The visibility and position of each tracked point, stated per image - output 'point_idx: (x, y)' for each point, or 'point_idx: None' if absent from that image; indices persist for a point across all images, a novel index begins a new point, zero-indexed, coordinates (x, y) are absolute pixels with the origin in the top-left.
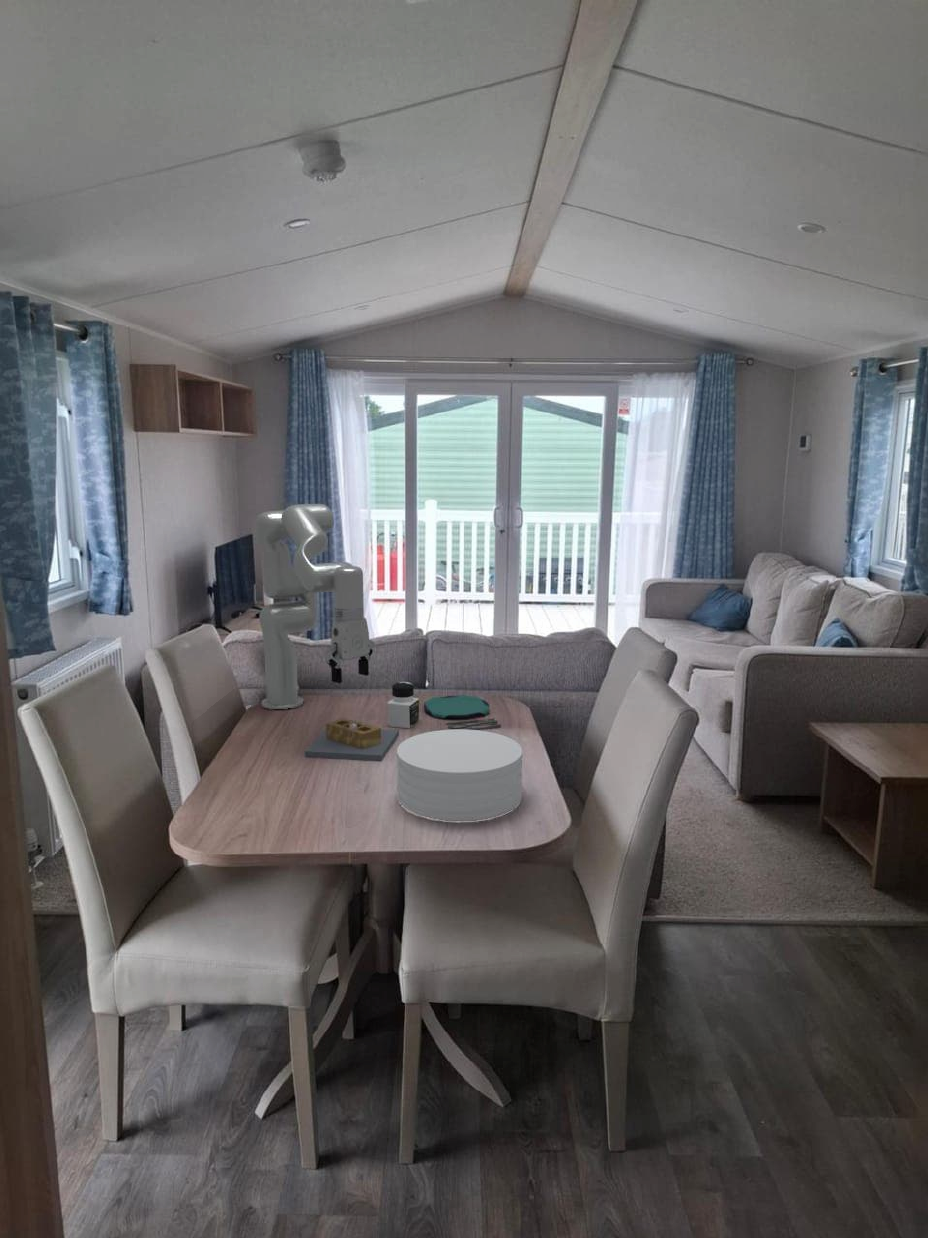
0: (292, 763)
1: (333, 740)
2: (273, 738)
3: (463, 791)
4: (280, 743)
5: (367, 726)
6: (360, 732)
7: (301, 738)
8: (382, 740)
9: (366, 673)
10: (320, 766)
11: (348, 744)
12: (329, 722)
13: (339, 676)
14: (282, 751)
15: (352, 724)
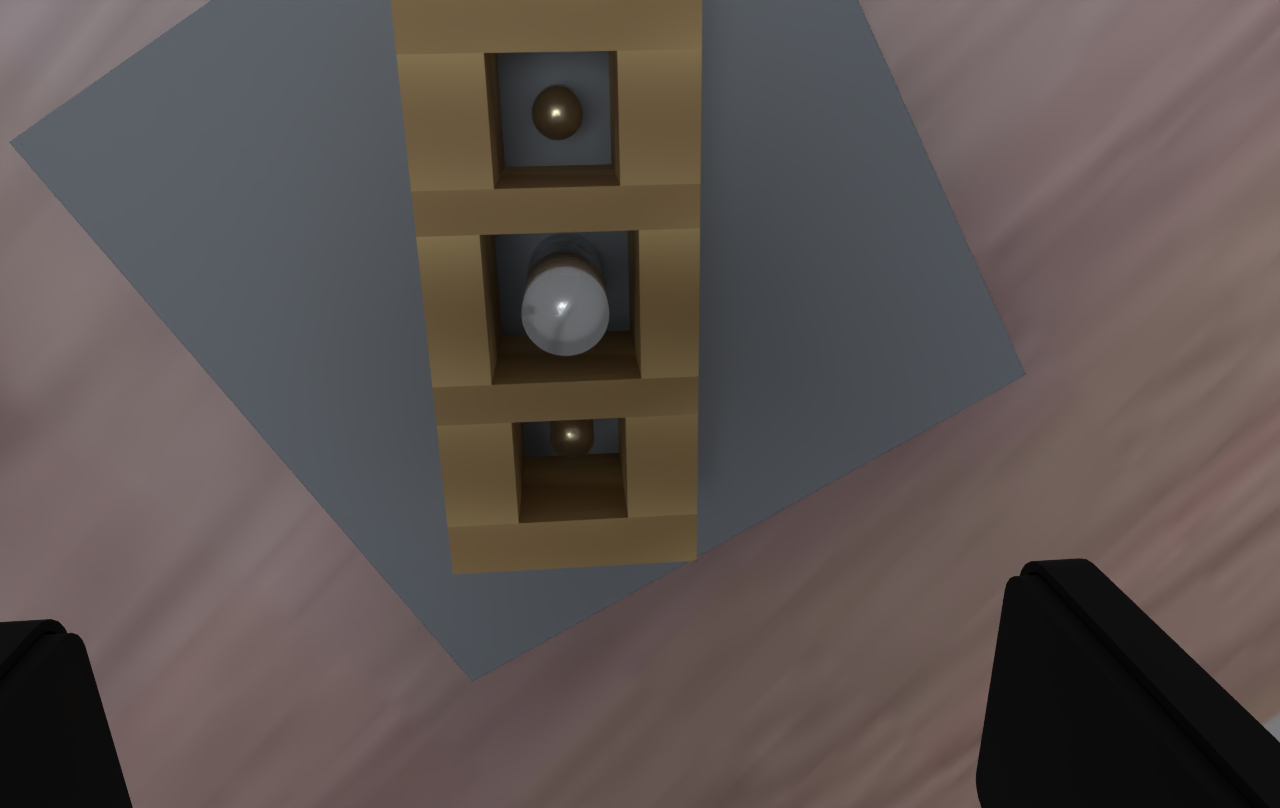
0: (1161, 318)
1: None
2: (836, 792)
3: None
4: (883, 693)
5: (466, 166)
6: (676, 61)
7: (717, 676)
8: (363, 31)
9: (45, 656)
10: (1111, 85)
11: None
12: (652, 562)
13: (1186, 683)
14: (999, 564)
15: (581, 308)
